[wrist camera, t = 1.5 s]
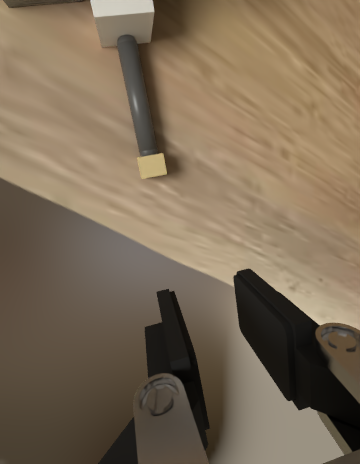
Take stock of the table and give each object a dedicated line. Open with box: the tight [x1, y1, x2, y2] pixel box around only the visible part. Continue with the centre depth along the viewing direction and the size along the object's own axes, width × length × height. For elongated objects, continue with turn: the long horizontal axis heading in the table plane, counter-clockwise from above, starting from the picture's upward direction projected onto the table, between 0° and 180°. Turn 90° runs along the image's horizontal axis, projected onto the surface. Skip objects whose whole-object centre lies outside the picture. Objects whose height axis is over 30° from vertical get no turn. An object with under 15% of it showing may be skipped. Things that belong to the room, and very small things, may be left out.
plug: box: [90, 0, 167, 179], centre depth 21 cm, size 4×16×4 cm, turn 10°
